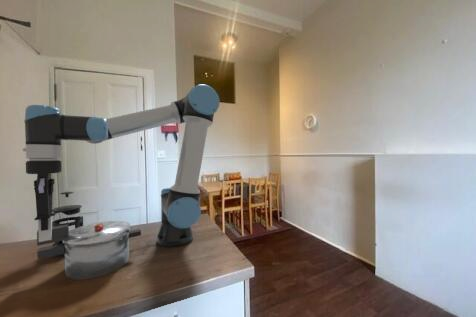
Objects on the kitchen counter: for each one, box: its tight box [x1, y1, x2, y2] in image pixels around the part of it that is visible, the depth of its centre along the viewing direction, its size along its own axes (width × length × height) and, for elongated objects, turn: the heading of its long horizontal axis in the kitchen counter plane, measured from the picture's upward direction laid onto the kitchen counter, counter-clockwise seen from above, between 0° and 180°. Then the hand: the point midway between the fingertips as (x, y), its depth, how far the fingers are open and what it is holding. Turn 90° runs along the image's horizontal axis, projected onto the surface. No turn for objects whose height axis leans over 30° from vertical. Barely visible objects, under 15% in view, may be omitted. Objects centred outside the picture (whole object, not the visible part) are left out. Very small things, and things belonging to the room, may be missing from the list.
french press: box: [52, 191, 84, 257], centre depth 80 cm, size 12×9×23 cm
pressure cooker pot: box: [37, 228, 142, 280], centre depth 69 cm, size 28×18×10 cm, turn 127°
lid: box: [36, 220, 131, 246], centre depth 68 cm, size 24×19×5 cm
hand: (45, 240), depth 59 cm, fingers closed
